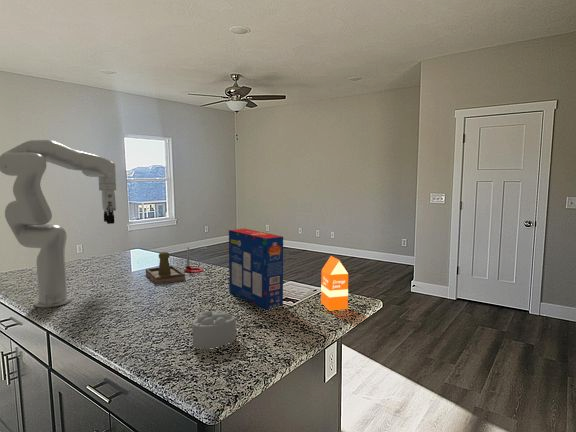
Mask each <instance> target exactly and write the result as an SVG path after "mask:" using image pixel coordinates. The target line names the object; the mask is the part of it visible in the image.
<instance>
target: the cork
mask: <svg viewBox="0 0 576 432" xmlns="http://www.w3.org/2000/svg"><path fill="white" fill-rule="evenodd" d="M158 258H159V265H158V267H159V273H158V275H169V274H171V271H170V266H171V265H170V260H169V258H170V252H168V251H162V252H159V253H158Z"/></svg>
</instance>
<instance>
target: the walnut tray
mask: <svg viewBox="0 0 576 432" xmlns="http://www.w3.org/2000/svg"><path fill="white" fill-rule="evenodd" d="M170 271H171V274H169V275H158V273H159V266H158V267H152V268H146V269H145V276H146V277H148V278H149V280H150V281H152V282H153V283H154V284H155V285H161V284H167V283H168V284H169V283H174V282H181V281H186V272H184V271H182V270H180V269H179V268H177V267H176V266H174V265H170Z"/></svg>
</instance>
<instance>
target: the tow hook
mask: <svg viewBox="0 0 576 432" xmlns="http://www.w3.org/2000/svg"><path fill="white" fill-rule="evenodd" d="M186 272H188V273H191V274H196V273H197V274H198V272H199V273H202V272H204V269H203V268H202V267H196V266H195V267H192V266H191V261H190V247H187V251H186V266H185V268H184V269H183V273H186Z"/></svg>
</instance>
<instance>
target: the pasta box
mask: <svg viewBox="0 0 576 432" xmlns="http://www.w3.org/2000/svg"><path fill="white" fill-rule="evenodd" d="M228 266H229V267H228V268H229V269H228V271H229V272H228V279H229V280H228V282H229V283H228V284H229V287H228V288H229V289H228V290H229V291H228V292H229V294H230V295H233V296H236V298H237V297H238V298H239V299H241V300H243V301H246V302H248V303H249V304H251V303H252V304H251V305H253V304H254V306H255V305H256V307H257V306H258V308H259V307H260V308H259V309H261V308H263V309H265V310H264V311H266V310H268V311H270V310H269V309H272V308H275V309H277V308H276V307H279V306H284V236H282V235H277V234H272V233H267V232H264V231H263V232H262V231H257V230H253V229H249V228H237V229H229V230H228ZM279 308H280V307H279ZM263 309H262V310H263ZM272 310H273V309H272Z"/></svg>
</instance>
